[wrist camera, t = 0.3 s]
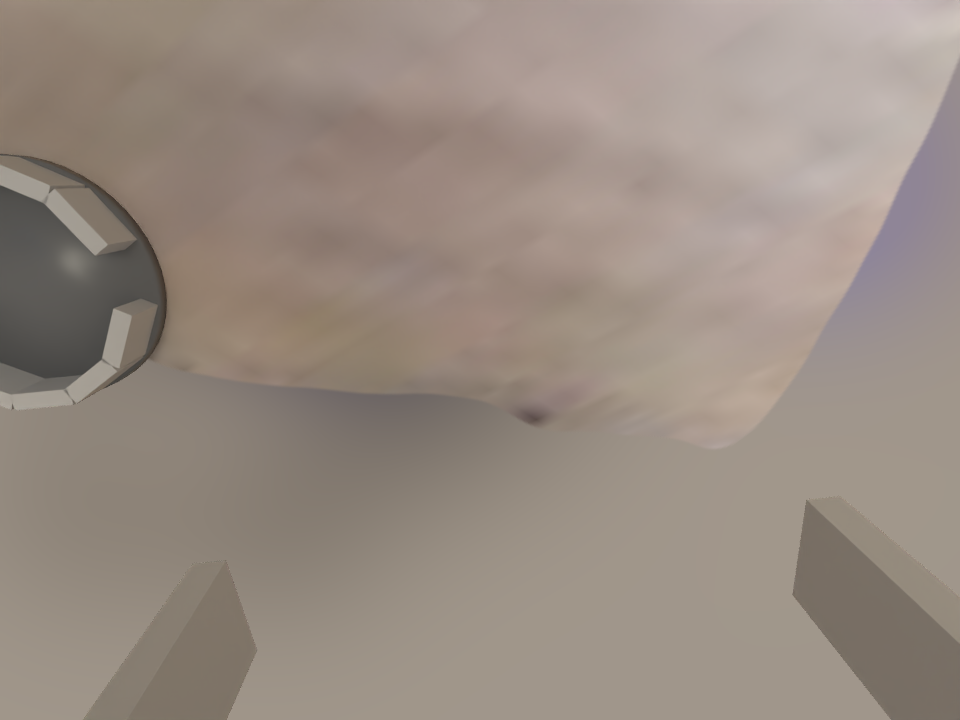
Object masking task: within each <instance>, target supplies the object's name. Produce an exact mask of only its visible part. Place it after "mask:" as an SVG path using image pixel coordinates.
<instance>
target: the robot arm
mask: <svg viewBox="0 0 960 720" xmlns="http://www.w3.org/2000/svg"><path fill="white" fill-rule="evenodd" d="M793 596H794V597H795V598H796V600H797V601H798V602H799V603H800V605H801V606H802V607H803V609H804V610H805V611H806V612H807V613H808V615H809V616H810V618H811V619H812V620H813V621H814V622H815V624H816V625H817V626H818V628H819V629H820V630H821V631H822V633H823V634H824V635H825V637H826V638H827V639H828V640H829V642H830V643H831V644H832V645H833V647H834V648H835V649H836V650H837V652H838V653H839V654H840V656H841V657H842V658H843V659H844V661H845V662H846V663H847V664H848V666H849V667H850V668H851V669H852V671H853V672H854V673H855V675H856V676H857V677H858V678H859V680H860V681H861V682H862V683H863V685H864V686H865V687H866V688H867V690H868V691H869V692H870V694H871V695H872V696H873V697H874V699H875V700H876V701H877V702H878V704H879V705H880V706H881V707H882V709H883V710H884V711H885V712H886V714H887V715H888V716H889V717H890V719H891V720H960V597H959V596H958V595H957V594H956V593H955V592H953V591H952V590H951V589H950V588H948V587H947V586H946V585H945V584H944V583H943V582H942V581H940V580H939V579H938V578H937V577H936V576H934V575H933V574H932V573H931V572H930V571H928V570H927V569H926V568H925V567H924V566H923V565H921V564H920V563H919V562H918V561H917V560H916V559H914V558H913V557H912V556H911V555H910V554H908V553H907V552H906V551H905V550H904V549H902V548H901V547H900V546H899V545H898V544H897V543H895V542H894V541H893V540H892V539H890V538H889V537H888V536H887V535H886V534H885V533H884V532H882V531H881V530H880V529H879V528H878V527H876V526H875V525H874V524H873V523H871V522H870V521H869V520H868V519H867V518H866V517H865V516H863V515H862V514H861V513H860V512H859V511H857V510H856V509H855V508H854V507H853V506H851V505H850V504H849V503H848V502H847V501H846V500H844V499H843V498H842V497H841V496H837V497H829V498H819V499H809V500H806V506H805V513H804V520H803V527H802V533H801V540H800V547H799V554H798V561H797V568H796V575H795V582H794V589H793ZM256 652H257V649H256V646H255V643H254V640H253V637H252V634H251V631H250V629H249V625H248V622H247V620H246V617H245V614H244V611H243V608H242V605H241V602H240V599H239V596H238V593H237V591H236V588H235V585H234V582H233V579H232V576H231V573H230V570H229V567H228V564H227V562H226V560H225V561H215V562H205V563H196V564H192V565H191V567H190V568H189V570H188V571H187V572H186V574H185V575H184V577H183V578H182V579H181V581H180V582H179V584H178V585H177V587H176V588H175V589H174V591H173V592H172V594H171V595H170V597H169V598H168V600H167V601H166V603H165V604H164V605H163V606H162V608H161V609H160V611H159V612H158V614H157V615H156V616H155V618H154V619H153V621H152V622H151V624H150V625H149V626H148V628H147V629H146V631H145V632H144V634H143V635H142V636H141V638H140V639H139V641H138V642H137V644H136V645H135V646H134V648H133V649H132V651H131V652H130V653H129V655H128V656H127V658H126V659H125V661H124V662H123V663H122V665H121V666H120V668H119V669H118V671H117V672H116V674H115V675H114V676H113V678H112V679H111V680H110V682H109V683H108V685H107V686H106V688H105V689H104V691H103V692H102V693H101V695H100V696H99V698H98V699H97V700H96V702H95V703H94V705H93V706H92V708H91V709H90V710H89V712H88V713H87V715H86V716H85V717H84V719H83V720H227V718H228V715H229V713H230V711H231V709H232V706H233V704H234V701H235V699H236V697H237V695H238V692H239V690H240V688H241V686H242V683H243V681H244V679H245V676H246V674H247V672H248V670H249V667H250V665H251V663H252V661H253V658H254V656H255V654H256Z"/></svg>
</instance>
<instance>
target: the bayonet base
mask: <svg viewBox="0 0 960 720" xmlns="http://www.w3.org/2000/svg"><path fill="white" fill-rule="evenodd" d="M165 317H166V292H165V284H164V280H163V276H162V272H161V268H160V266H159V263H158V260H157V258H156V255H155V253H154V251H153V249H152V247H151V245H150V243H149V241H148V239H147V238H146V236H145V235H144V233H143V232H142V230H141V229H140V227H139V226H138V224H137V223H136V222H135V221H134V220H133V218H132V217H131V216H130V215H129V214H128V212H127V211H126V210H125V209H124V208H123V207H122V206H121V205H120V204H119V203H118V202H117V201H116V200H115V199H114V198H113V197H111V196H110V195H109V194H108V193H106V192H105V191H104V190H103V189H101V188H100V187H99V186H97V185H96V184H94V183H93V182H91V181H90V180H88V179H86V178H85V177H83V176H82V175H80V174H78V173H76V172H74V171H72V170H69V169H67V168H65V167H63V166H60V165H57V164H55V163H52V162H49V161H46V160H42V159H38V158H33V157H28V156H19V155H8V154H0V406H2V407H4V408H7V409H11V410H12V409H14V408H15V410H25V409H35V408H46V407H56V406H66V405H74V404H76V403H79V402H80V401H82V400H84V399H86V398H87V397H89V396H91V395H93V394H94V393H96V392H98V391H99V390H101V389H103V388H106V387H108V386H110V385H112V384H114V383H116V382H118V381H120V380H121V379H123V378H125V377H127V376H128V375H130V374H131V373H133V372H134V371H135V370H137V369H138V368H139V367H140V366H141V365H142V364H143V363H144V362H145V361H146V360H147V359H148V357H149V356H150V355H151V354H152V352H153V351H154V349H155V347H156V345H157V343H158V341H159V339H160V336H161V333H162V331H163V328H164V322H165Z"/></svg>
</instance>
